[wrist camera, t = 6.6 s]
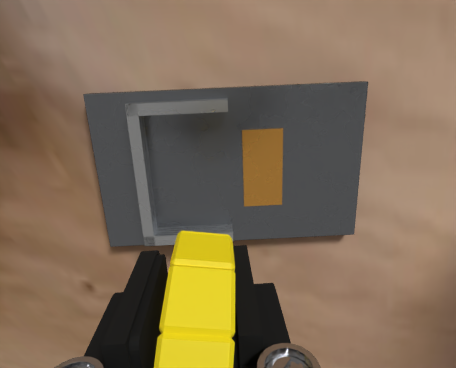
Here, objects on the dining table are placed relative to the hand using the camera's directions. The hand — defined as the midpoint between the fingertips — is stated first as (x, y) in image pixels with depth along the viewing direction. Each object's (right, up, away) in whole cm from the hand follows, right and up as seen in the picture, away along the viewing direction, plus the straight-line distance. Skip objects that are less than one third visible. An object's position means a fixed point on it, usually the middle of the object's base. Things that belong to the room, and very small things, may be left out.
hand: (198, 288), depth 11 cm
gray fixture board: (+1, +5, +15) cm, 16 cm away
